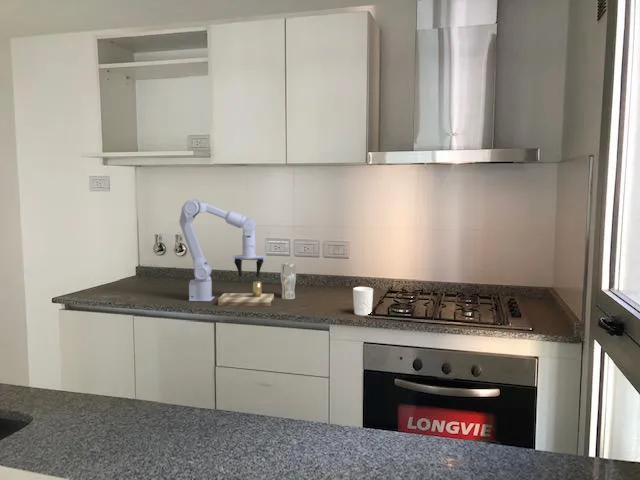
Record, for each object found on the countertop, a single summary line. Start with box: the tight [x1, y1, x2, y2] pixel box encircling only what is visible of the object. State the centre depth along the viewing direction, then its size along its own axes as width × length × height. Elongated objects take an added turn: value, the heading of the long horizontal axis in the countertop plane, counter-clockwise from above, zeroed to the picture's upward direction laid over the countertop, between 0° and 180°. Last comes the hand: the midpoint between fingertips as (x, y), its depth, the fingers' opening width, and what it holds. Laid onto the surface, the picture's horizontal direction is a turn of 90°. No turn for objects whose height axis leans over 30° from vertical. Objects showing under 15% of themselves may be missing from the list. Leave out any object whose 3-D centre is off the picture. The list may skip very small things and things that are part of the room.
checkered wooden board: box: [217, 292, 275, 307], centre depth 224 cm, size 22×12×3 cm, turn 88°
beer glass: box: [280, 263, 297, 300], centre depth 234 cm, size 7×7×15 cm
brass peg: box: [252, 280, 263, 297], centre depth 224 cm, size 4×4×9 cm
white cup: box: [352, 286, 374, 317], centre depth 206 cm, size 8×8×10 cm
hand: (249, 276), depth 230 cm, fingers open, 7 cm apart
